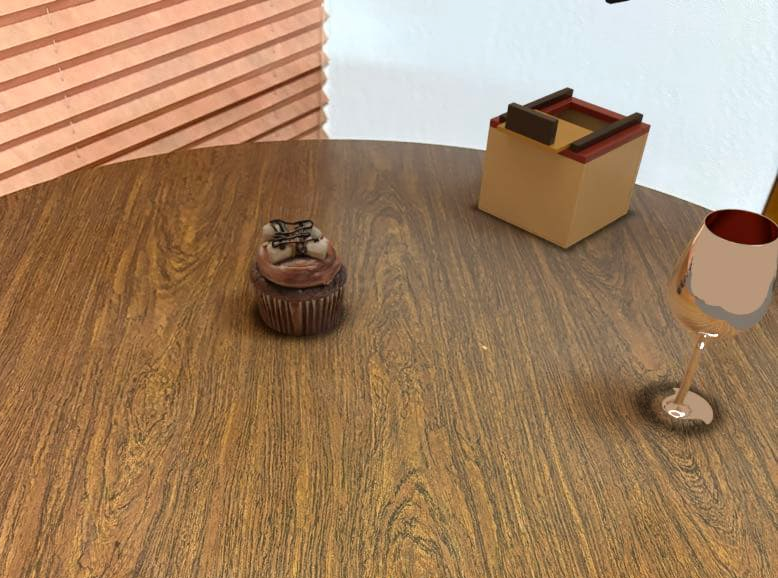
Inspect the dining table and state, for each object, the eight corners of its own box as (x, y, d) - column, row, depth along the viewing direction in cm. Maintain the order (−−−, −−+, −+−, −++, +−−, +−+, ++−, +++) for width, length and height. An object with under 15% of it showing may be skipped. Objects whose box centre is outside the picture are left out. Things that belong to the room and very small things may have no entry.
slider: (534, 113, 98) (539, 85, 96) (593, 136, 94) (599, 107, 92) (496, 130, 94) (500, 101, 92) (555, 154, 91) (561, 124, 88)
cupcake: (360, 335, 85) (364, 241, 78) (266, 351, 83) (260, 255, 75) (330, 285, 91) (331, 193, 84) (241, 299, 89) (234, 206, 81)
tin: (540, 179, 111) (558, 83, 102) (626, 216, 105) (653, 117, 97) (477, 211, 104) (491, 111, 96) (564, 251, 98) (587, 149, 90)
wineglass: (622, 424, 78) (678, 239, 64) (642, 374, 83) (697, 193, 69) (714, 450, 76) (791, 264, 62) (728, 397, 81) (803, 214, 67)
